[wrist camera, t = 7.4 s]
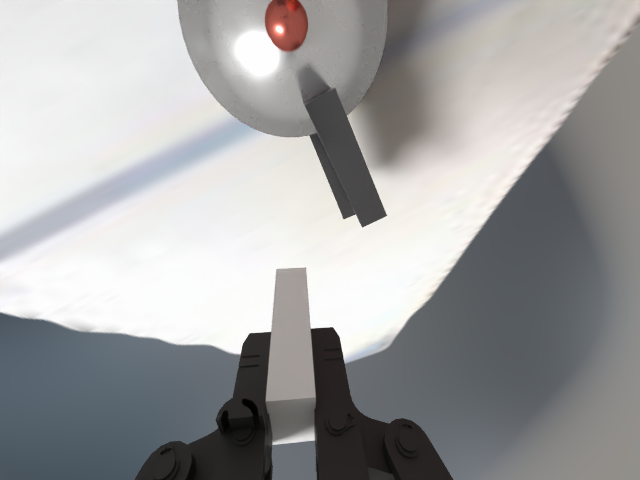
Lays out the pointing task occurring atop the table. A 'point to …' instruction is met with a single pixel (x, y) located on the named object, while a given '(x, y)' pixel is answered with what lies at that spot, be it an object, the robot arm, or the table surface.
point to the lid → (294, 72)
